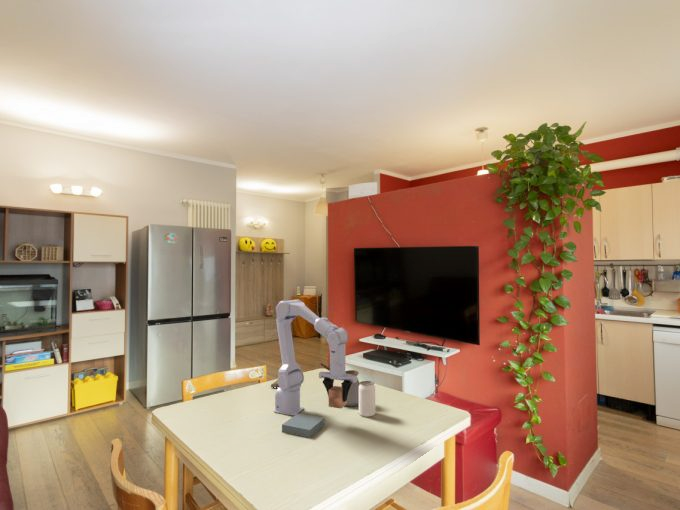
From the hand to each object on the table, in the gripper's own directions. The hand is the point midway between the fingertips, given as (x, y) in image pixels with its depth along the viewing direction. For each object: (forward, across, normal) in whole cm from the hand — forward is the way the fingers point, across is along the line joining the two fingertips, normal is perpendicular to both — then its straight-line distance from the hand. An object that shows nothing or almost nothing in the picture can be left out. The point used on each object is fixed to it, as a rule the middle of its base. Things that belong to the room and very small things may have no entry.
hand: (337, 399), depth 133 cm
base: (+9, -10, -8) cm, 15 cm away
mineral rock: (+10, -44, +30) cm, 54 cm away
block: (+2, 0, 0) cm, 2 cm away
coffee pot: (+9, -8, +22) cm, 26 cm away
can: (+9, +7, +13) cm, 17 cm away
